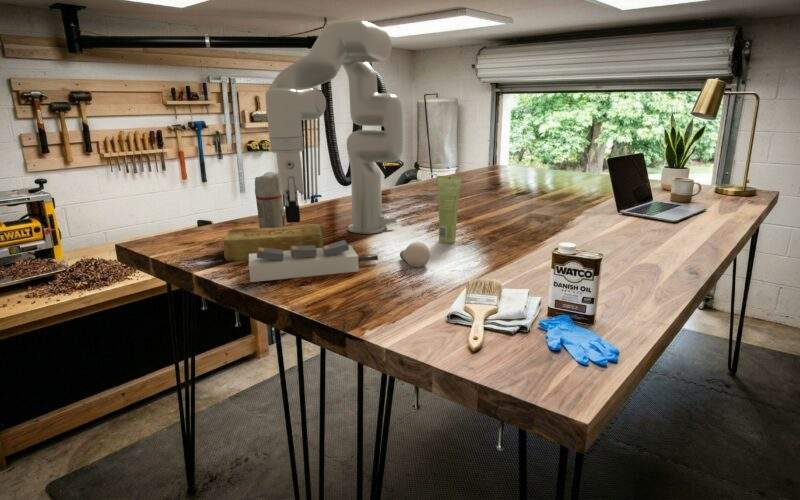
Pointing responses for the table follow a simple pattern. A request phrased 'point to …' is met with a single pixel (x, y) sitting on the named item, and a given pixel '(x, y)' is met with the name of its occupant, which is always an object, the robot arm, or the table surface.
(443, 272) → the table surface
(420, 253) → the light bulb
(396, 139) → the robot arm
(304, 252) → the plate
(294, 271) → the power strip
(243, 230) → the brick
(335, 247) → the block
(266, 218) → the grey cylinder
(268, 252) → the block
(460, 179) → the tube
